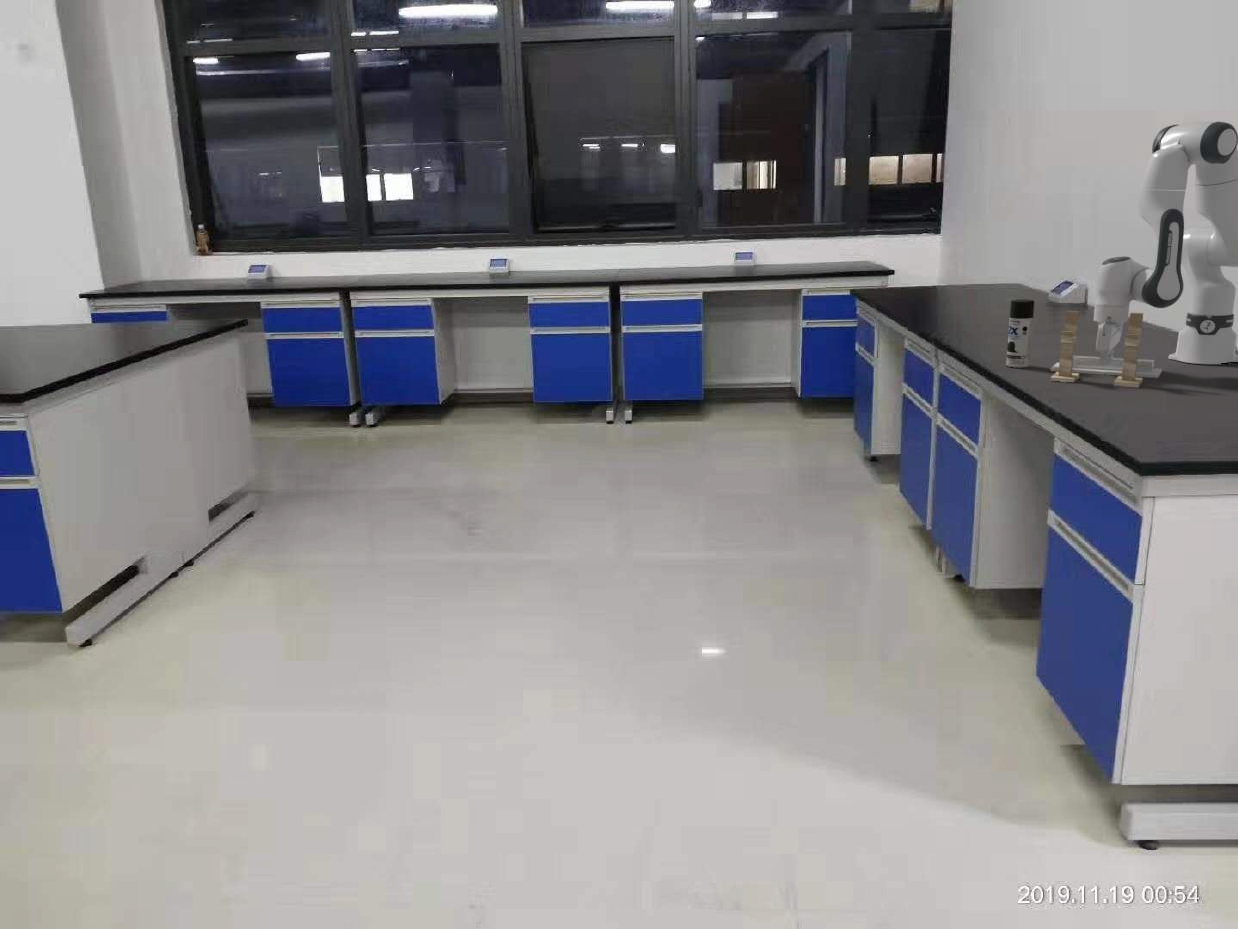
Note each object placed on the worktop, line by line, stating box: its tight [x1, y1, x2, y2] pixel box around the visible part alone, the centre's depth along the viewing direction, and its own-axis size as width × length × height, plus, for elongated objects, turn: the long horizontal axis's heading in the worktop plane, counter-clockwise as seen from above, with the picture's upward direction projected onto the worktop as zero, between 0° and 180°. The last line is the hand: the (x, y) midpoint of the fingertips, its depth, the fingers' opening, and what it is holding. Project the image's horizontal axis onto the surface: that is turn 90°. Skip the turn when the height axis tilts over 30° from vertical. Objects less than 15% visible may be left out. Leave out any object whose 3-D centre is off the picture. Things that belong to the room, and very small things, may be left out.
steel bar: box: [1073, 355, 1155, 372], centre depth 276 cm, size 3×24×3 cm, turn 55°
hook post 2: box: [1113, 312, 1144, 388], centre depth 257 cm, size 8×6×19 cm
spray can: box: [1005, 298, 1035, 369], centre depth 286 cm, size 7×7×20 cm
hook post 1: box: [1050, 310, 1080, 383], centre depth 266 cm, size 8×6×19 cm
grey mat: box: [1049, 361, 1163, 379], centre depth 277 cm, size 10×28×1 cm, turn 55°
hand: (1106, 362), depth 276 cm, fingers open, 8 cm apart
